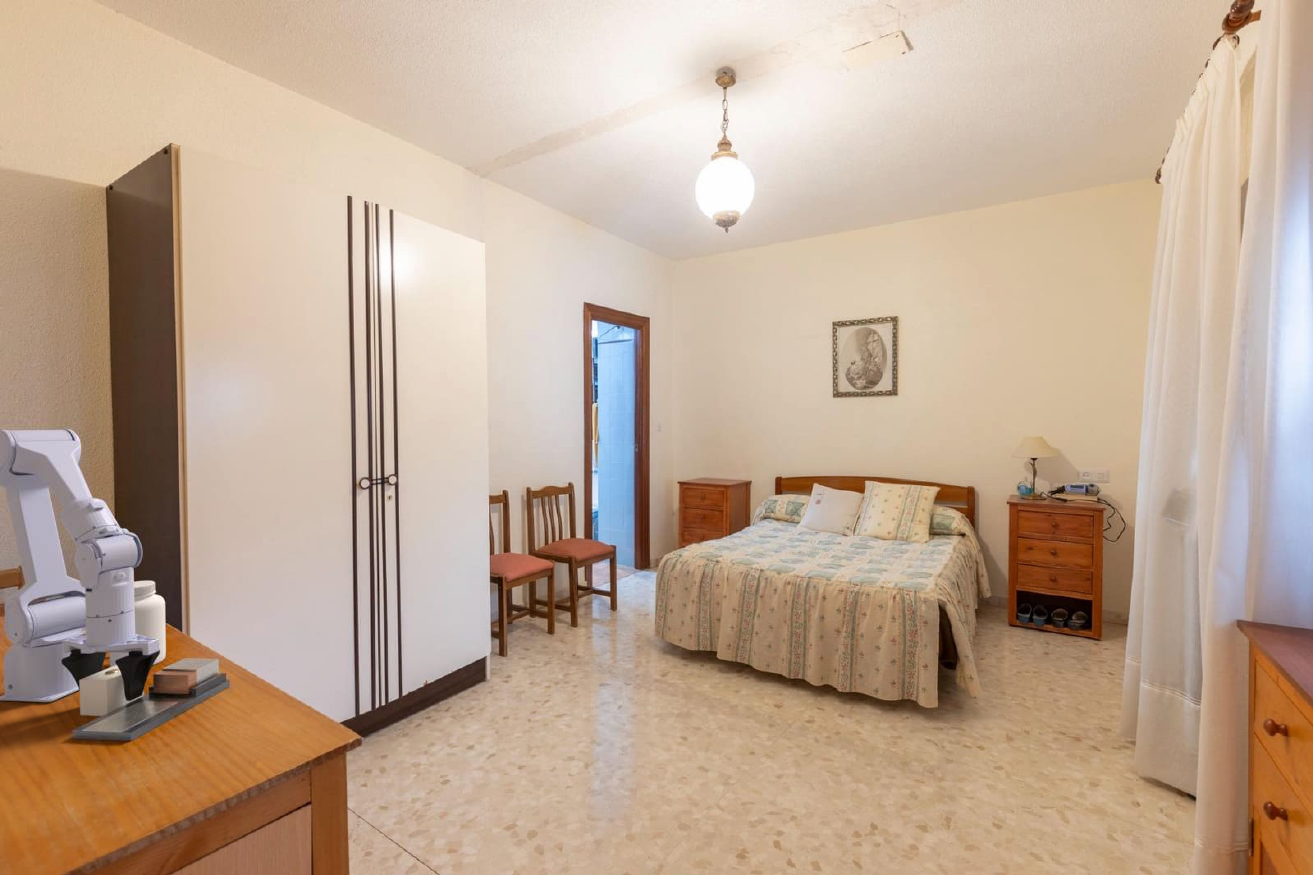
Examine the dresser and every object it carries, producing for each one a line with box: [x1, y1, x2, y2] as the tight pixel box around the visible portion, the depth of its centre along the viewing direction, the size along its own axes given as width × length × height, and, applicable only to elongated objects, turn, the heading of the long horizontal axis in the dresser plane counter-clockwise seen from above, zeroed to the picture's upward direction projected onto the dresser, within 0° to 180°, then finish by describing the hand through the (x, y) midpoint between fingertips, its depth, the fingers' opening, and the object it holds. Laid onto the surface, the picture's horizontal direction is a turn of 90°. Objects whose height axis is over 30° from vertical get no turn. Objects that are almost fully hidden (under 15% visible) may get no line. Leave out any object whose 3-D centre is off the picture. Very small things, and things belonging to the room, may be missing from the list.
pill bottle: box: [109, 580, 167, 668], centre depth 112 cm, size 8×8×15 cm
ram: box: [152, 657, 220, 694], centre depth 98 cm, size 6×6×4 cm
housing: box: [79, 665, 145, 717], centre depth 95 cm, size 4×6×6 cm
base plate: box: [72, 672, 231, 742], centre depth 93 cm, size 9×18×2 cm, turn 175°
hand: (112, 697), depth 95 cm, fingers open, 7 cm apart
